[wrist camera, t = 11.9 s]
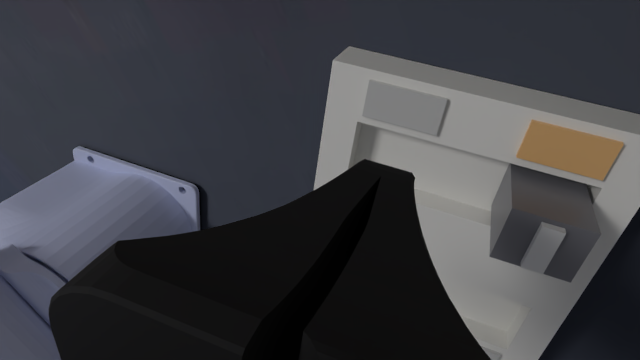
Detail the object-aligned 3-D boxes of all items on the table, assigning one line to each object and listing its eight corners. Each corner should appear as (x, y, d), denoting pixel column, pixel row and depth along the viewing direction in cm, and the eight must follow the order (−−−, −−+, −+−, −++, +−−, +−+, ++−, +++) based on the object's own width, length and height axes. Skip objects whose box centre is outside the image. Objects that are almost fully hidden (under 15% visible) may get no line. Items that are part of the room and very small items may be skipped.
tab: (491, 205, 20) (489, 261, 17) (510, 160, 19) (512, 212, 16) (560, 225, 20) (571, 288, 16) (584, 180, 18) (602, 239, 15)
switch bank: (311, 276, 28) (295, 305, 26) (349, 46, 20) (331, 61, 18) (518, 351, 26) (519, 390, 24) (660, 119, 17) (682, 147, 15)
